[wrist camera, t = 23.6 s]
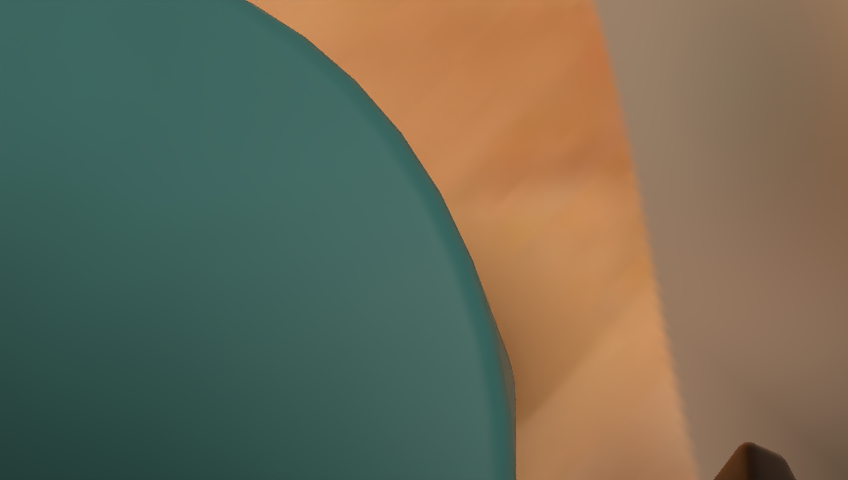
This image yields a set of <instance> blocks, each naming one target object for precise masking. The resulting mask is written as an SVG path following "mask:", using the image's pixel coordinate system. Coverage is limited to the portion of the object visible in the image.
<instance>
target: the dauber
mask: <svg viewBox="0 0 848 480" xmlns="http://www.w3.org/2000/svg"><path fill="white" fill-rule="evenodd" d="M0 480H516V415H515V383H514V377H513V372H512V367H511V364H510V361H509V358H508V355H507V352H506V349H505V347H504V344H503V341H502V339H501V336H500V333H499V330H498V328H497V325H496V322H495V320H494V317H493V314H492V312H491V309H490V306H489V303H488V301H487V298H486V295H485V293H484V290H483V287H482V285H481V282H480V279H479V276H478V274H477V271H476V268H475V266H474V263H473V260H472V258H471V256H470V254H469V252H468V250H467V248H466V246H465V244H464V241H463V239H462V237H461V235H460V233H459V231H458V229H457V227H456V225H455V223H454V220H453V218H452V216H451V214H450V212H449V210H448V208H447V206H446V204H445V202H444V199H443V197H442V195H441V193H440V191H439V190H438V188H437V187H436V185H435V184H434V182H433V181H432V179H431V178H430V176H429V175H428V173H427V172H426V170H425V169H424V167H423V166H422V164H421V162H420V161H419V159H418V158H417V156H416V155H415V153H414V152H413V150H412V149H411V147H410V146H409V144H408V143H407V141H406V140H405V138H404V137H403V135H402V134H401V132H400V131H399V130H398V129H397V128H396V126H395V125H394V124H393V123H392V122H391V121H390V120H389V118H388V117H387V116H386V115H385V114H384V113H383V112H382V110H381V109H380V108H379V107H378V106H377V105H376V104H375V102H374V101H373V100H372V99H371V98H370V97H369V96H368V94H367V93H366V92H365V91H364V90H363V89H362V88H361V86H360V85H359V84H358V83H357V82H356V81H355V80H354V79H353V78H352V77H351V76H349V75H348V74H347V73H346V72H345V71H344V70H342V69H341V68H340V67H339V66H338V65H337V64H336V63H334V62H333V61H332V60H331V59H330V58H329V57H327V56H326V55H325V54H324V53H323V52H322V51H320V50H319V49H318V48H317V47H316V46H315V45H313V44H312V43H311V42H310V41H309V40H308V39H307V38H305V37H304V36H302V35H301V34H299V33H298V32H296V31H294V30H293V29H291V28H290V27H288V26H287V25H285V24H283V23H282V22H280V21H279V20H277V19H276V18H274V17H273V16H271V15H269V14H268V13H266V12H265V11H263V10H262V9H260V8H259V7H257V6H255V5H254V4H252V3H250V2H248V1H246V0H0Z"/></svg>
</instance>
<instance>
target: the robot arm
mask: <svg viewBox="0 0 848 480" xmlns="http://www.w3.org/2000/svg"><path fill="white" fill-rule="evenodd" d="M714 480H796V479H795V477H794V475H793V473H792V471H791V469H790V467H789V465H788V464H787V462H786V460H785V459H784V458H783V457H782V456H781V455H779V454H777V453H775V452H773V451H771V450H768V449H766V448H764V447H761V446H759V445H756V444H754V443H751V442H746V443H743V444H742V445H740V446H739V447H738V448H737V450H736V451H735V453H734V454H733V455H732V456H731V458H730V459H729V460H728V462H727V463H726V464H725V466H724V467H723V468H722V469H721V471H720V472H719V474H718V475H717V476H716V477H715V479H714Z"/></svg>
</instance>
